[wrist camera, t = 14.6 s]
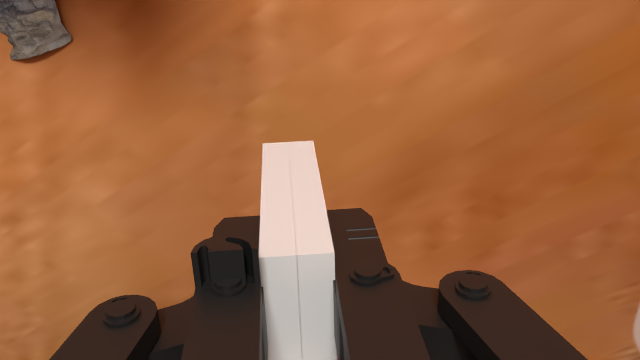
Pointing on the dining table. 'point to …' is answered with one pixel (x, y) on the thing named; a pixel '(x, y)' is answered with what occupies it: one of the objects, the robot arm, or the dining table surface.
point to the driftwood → (32, 27)
